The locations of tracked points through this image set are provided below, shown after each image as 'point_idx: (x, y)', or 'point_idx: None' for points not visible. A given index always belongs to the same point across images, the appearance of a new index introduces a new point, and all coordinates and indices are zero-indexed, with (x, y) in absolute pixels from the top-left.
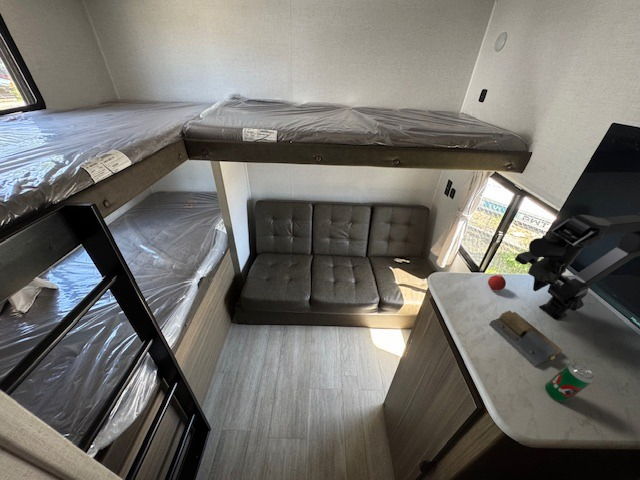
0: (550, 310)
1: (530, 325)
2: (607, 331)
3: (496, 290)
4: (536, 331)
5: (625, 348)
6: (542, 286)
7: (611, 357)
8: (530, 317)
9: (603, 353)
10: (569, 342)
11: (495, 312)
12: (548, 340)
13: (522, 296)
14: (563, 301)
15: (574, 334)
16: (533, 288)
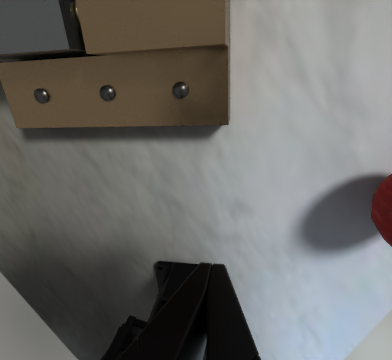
0: (180, 276)
1: (139, 119)
2: (98, 333)
3: (384, 180)
4: (107, 113)
5: (51, 314)
6: (130, 349)
7: (28, 260)
8: (194, 190)
9: (39, 256)
10: (77, 208)
11: (279, 41)
12: (60, 117)
13: (287, 267)
14: (133, 339)
15: (101, 253)
16: (224, 275)
